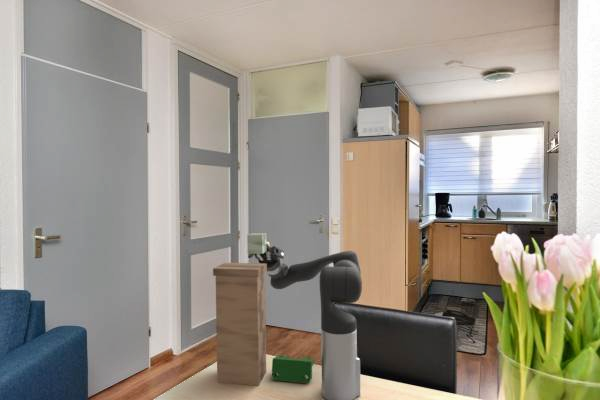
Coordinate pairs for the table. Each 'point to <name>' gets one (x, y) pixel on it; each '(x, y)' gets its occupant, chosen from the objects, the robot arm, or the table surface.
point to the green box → (292, 369)
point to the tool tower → (240, 322)
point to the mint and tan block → (257, 243)
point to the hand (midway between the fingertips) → (259, 244)
